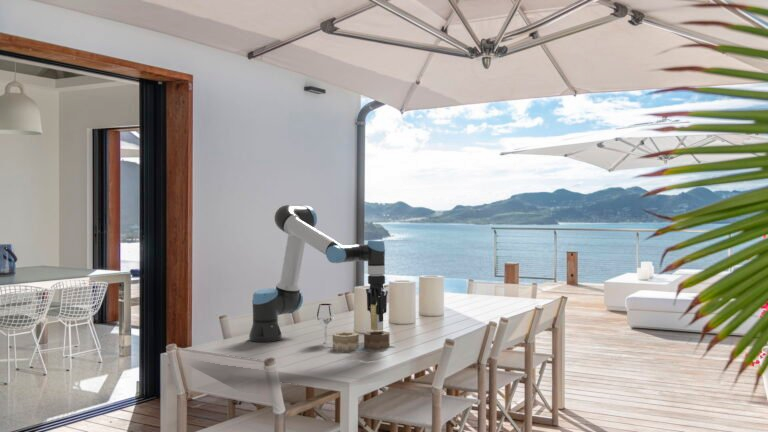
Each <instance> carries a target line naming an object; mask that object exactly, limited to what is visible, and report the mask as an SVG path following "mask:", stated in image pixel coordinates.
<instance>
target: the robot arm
mask: <svg viewBox="0 0 768 432" xmlns="http://www.w3.org/2000/svg"><path fill="white" fill-rule="evenodd" d="M317 222H318V217H317V213H316V212H315V210H314V208H312V206H309V205H303V204H295V205H293V204H291V205H289V204H286V205H281V207H279V208H278V209H277V210H276V212H275V213H274V223H275V225H276V226H277V229H279V230H281V231H282V232H283V233H286V234H287V239H286V240H287V241H286V245H285V251H284V258H283V264H282V270H281V276H280V282H278V283H277V284H276V286H275V288H263V289H258V290H256V291H254V293H253V295H252V300H251V301H252V325H251V329H250V332H249V337H248V340H249V341H250V342H254V343H269V342H270V343H272V342H278V341H280V340H282V337H283V335H282V332H281V327H280V326H279V321H278V320H279V318H278V316H281V315H286V314H290V315H291V314H293V313H296V312H298V311H299V310H300V308H301V307H302V306H303V303H304V301H303V300H304V299H303V298H304V297H303V295H302V294H303V293H302V292H301V288H300V286H299V279H300V273H301V267H302V262H303V256H304V250H305V244H307V245H309V246H311V247H312V248H314V249H316V250H317V251H319V252H320V253H322V254H324V255H325V257H326V258H327V261H328V262H329V263H332V264H341V263H351V262H353V263H354V262H367V275H368V276H367V283H368V284H369V287H368V288H366V289H365V292H366V309H367V311H368V312H369V313H370V314H371V304H377V309H378V313H377V329H383V330H384V314H386V313H387V303H388V300H387V299H388V298H387V297H388V293H389V292H388V290H385V288H384V285H385V283H386V276H385V274H386V271H385V270H386V268H385V265H386V264H385V256H386V249H385V241H384V240H383V239H369V240H368V241H367V243H366V244H364V243H363V244H362V243H360V244H359V243H349V244H341V243H340V242H338V241H336V240H335V239H333V238H332V237H329V236H328V235H326V234H325V233H323V232H321V231H320V230H318V229H317V228H315V227H316V225H317Z"/></svg>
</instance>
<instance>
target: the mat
mask: <svg viewBox="0 0 768 432" xmlns="http://www.w3.org/2000/svg"><path fill="white" fill-rule="evenodd" d="M327 348H328V349H332V350H335V349H333V346H328V347H327ZM394 348H395V346H394V345H393V346H392V345H390V346H389V347H388V348H384V349H383V350H388V349H394ZM380 350H382V349H368V348H365V347H364V341H363V342H359V347H358V348H357V349H355V350H349V351H345V350H337V351H338V352H342V353H345V354H348V355H354V354H361V353H367V352H373V351H380ZM335 351H336V350H335Z"/></svg>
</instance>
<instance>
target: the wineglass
mask: <svg viewBox="0 0 768 432" xmlns="http://www.w3.org/2000/svg"><path fill="white" fill-rule="evenodd" d="M335 316H336V315H335V311H334V308H333V304H332V303H320V304H319V305H318V307H317V312H316V320H317V322H318V323H319V324H321V325H322V326H323V328H324V342H323V344H328V341H327V340H328V337H327V335H328V334H327V332H328V331H327V329H328V327H329V326H330V325H331V324H332V323H333V322H334V320H335Z"/></svg>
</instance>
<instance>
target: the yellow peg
mask: <svg viewBox="0 0 768 432" xmlns="http://www.w3.org/2000/svg"><path fill="white" fill-rule="evenodd" d="M377 313H378V309H377V303H376V304H371V313H370V331H384V328H383V329H377Z"/></svg>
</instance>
